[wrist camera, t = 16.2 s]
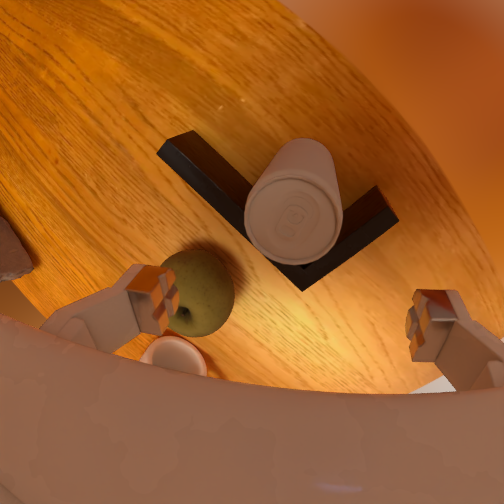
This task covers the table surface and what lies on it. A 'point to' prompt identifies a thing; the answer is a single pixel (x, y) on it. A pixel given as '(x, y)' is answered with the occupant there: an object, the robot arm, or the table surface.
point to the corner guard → (236, 193)
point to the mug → (175, 355)
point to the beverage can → (295, 205)
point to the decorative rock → (12, 254)
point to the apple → (200, 293)
